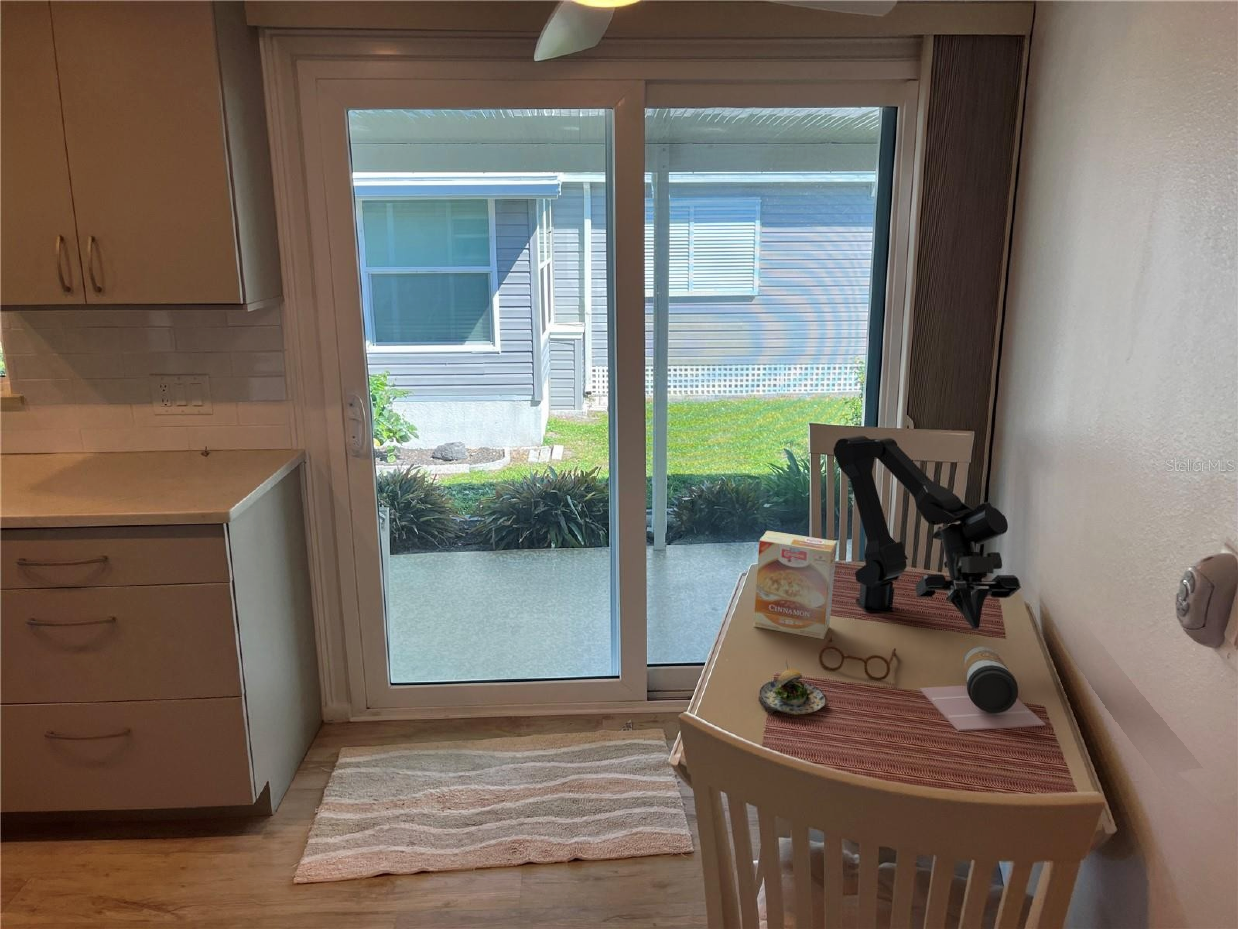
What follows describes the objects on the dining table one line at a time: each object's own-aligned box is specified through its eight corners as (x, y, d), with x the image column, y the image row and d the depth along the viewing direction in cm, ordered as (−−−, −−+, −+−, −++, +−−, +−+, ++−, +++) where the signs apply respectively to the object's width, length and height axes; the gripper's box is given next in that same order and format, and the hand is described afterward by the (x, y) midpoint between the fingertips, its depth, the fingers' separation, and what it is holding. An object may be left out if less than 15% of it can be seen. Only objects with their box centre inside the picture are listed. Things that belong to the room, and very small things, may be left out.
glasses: (817, 669, 172) (819, 646, 171) (830, 642, 183) (832, 619, 182) (887, 684, 167) (890, 660, 166) (896, 655, 178) (899, 632, 177)
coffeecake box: (752, 627, 189) (758, 539, 183) (760, 614, 195) (766, 529, 190) (824, 640, 183) (832, 551, 178) (829, 626, 190) (837, 539, 184)
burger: (766, 722, 153) (769, 683, 151) (751, 688, 164) (754, 651, 162) (835, 721, 154) (838, 682, 152) (815, 687, 165) (819, 650, 163)
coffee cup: (1010, 646, 166) (1025, 677, 152) (1000, 688, 168) (1013, 721, 154) (964, 635, 168) (974, 664, 154) (953, 676, 170) (963, 709, 156)
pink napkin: (957, 731, 151) (958, 729, 151) (919, 689, 164) (919, 687, 164) (1045, 725, 153) (1045, 723, 153) (1000, 685, 167) (1000, 683, 167)
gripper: (928, 535, 171) (943, 613, 163) (1024, 536, 172) (1043, 614, 164) (908, 558, 180) (922, 633, 173) (999, 559, 181) (1016, 634, 174)
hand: (976, 628), depth 171 cm, fingers closed
